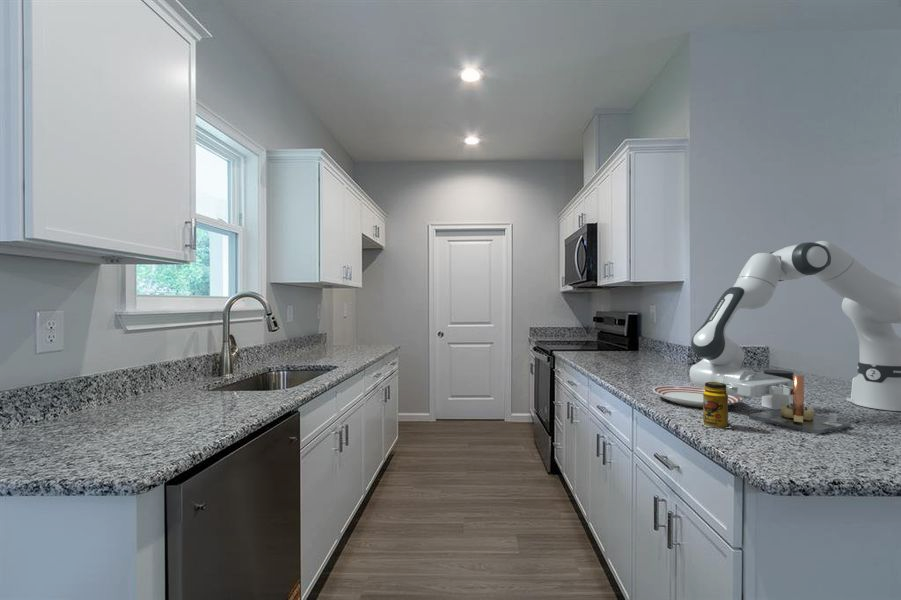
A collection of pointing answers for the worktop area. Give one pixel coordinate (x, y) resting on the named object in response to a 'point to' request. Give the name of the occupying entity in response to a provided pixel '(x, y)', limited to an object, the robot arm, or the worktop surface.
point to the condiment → (715, 405)
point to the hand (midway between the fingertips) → (792, 391)
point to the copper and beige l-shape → (798, 403)
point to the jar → (777, 399)
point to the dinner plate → (687, 395)
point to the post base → (814, 426)
